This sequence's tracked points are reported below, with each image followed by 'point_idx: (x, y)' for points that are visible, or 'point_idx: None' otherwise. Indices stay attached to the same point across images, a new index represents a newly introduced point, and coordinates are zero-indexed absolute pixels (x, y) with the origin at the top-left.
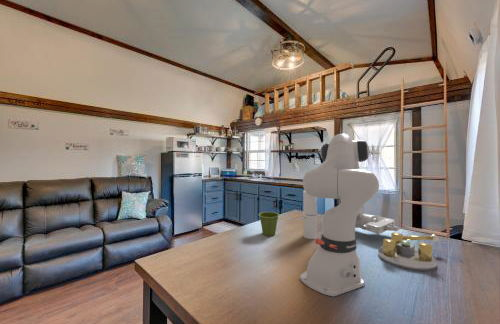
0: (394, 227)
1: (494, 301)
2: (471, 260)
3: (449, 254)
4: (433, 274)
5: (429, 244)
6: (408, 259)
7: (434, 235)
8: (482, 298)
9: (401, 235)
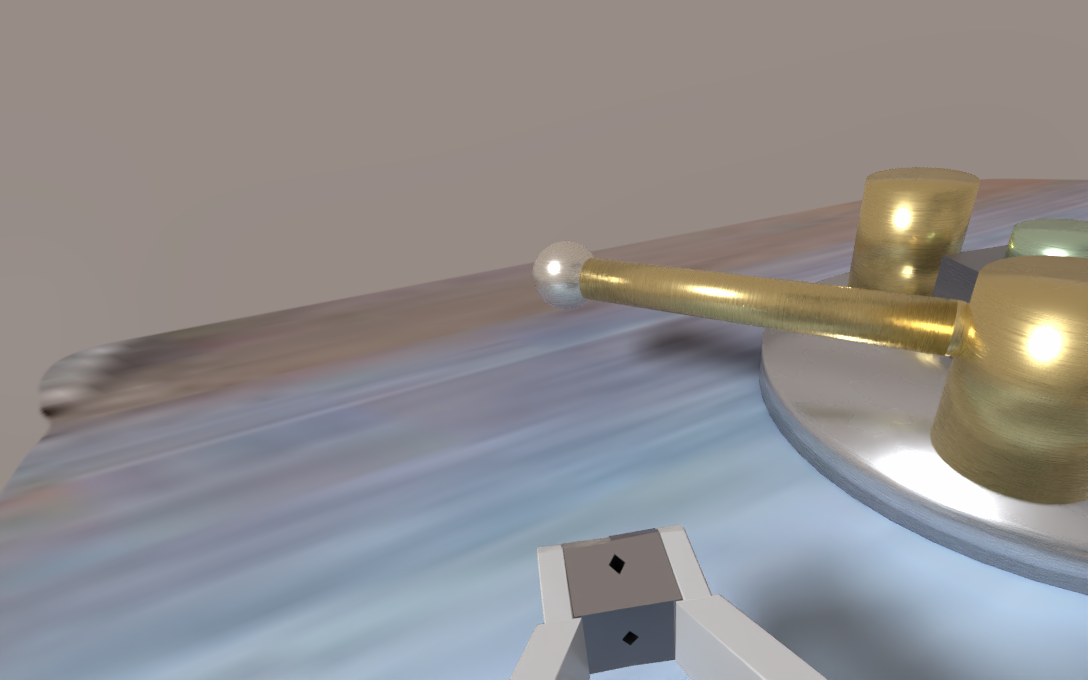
0: (697, 564)
1: None
2: (519, 301)
3: (520, 354)
4: None
5: (879, 177)
6: None
7: (573, 242)
8: None
9: (1037, 257)
